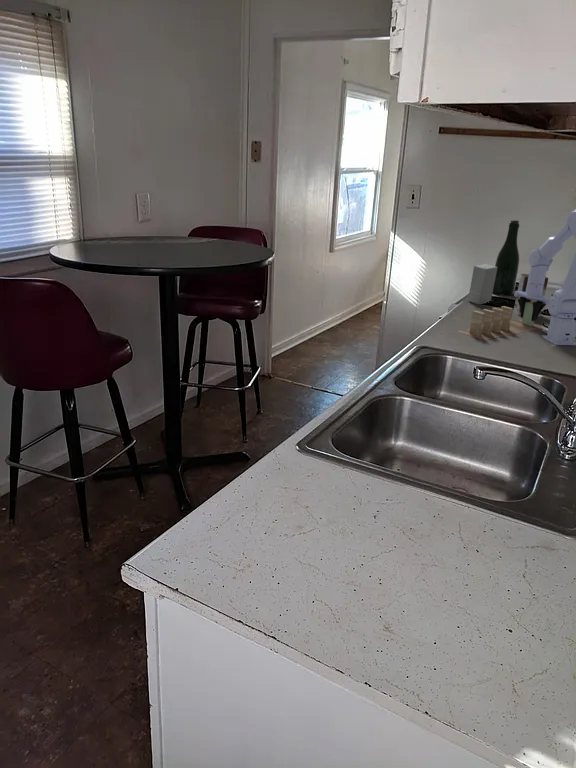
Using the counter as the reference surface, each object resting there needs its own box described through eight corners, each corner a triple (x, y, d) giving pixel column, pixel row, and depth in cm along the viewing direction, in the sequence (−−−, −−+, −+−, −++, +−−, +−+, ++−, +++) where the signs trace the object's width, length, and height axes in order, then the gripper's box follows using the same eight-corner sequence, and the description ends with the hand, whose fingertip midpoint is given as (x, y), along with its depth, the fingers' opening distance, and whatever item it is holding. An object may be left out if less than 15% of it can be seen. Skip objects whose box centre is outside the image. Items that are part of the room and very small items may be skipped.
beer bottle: (518, 295, 275) (532, 221, 263) (497, 295, 272) (511, 221, 260) (505, 290, 284) (518, 219, 272) (485, 290, 282) (498, 218, 270)
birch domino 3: (497, 332, 213) (501, 310, 210) (488, 329, 216) (492, 307, 213) (500, 331, 214) (504, 310, 211) (491, 329, 217) (494, 307, 214)
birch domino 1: (478, 336, 208) (482, 313, 205) (469, 333, 211) (472, 311, 208) (481, 335, 208) (485, 313, 205) (472, 332, 211) (475, 310, 209)
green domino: (530, 325, 224) (535, 304, 221) (521, 323, 227) (525, 302, 224) (533, 325, 225) (537, 304, 222) (524, 322, 228) (528, 302, 225)
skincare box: (478, 299, 264) (484, 263, 258) (492, 303, 259) (498, 266, 253) (466, 301, 259) (472, 264, 254) (480, 305, 254) (486, 267, 248)
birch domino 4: (506, 330, 216) (510, 309, 213) (497, 327, 219) (501, 306, 216) (509, 330, 217) (513, 308, 214) (500, 327, 220) (504, 305, 217)
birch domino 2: (488, 334, 210) (491, 312, 207) (478, 331, 213) (482, 309, 210) (490, 333, 211) (494, 311, 208) (481, 330, 214) (485, 308, 211)
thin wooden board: (483, 341, 203) (483, 340, 203) (455, 332, 213) (455, 331, 212) (547, 328, 223) (547, 327, 223) (519, 320, 233) (519, 319, 232)
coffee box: (516, 316, 238) (524, 276, 232) (512, 312, 244) (520, 273, 238) (540, 318, 238) (548, 278, 232) (535, 314, 244) (543, 275, 238)
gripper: (559, 286, 217) (552, 322, 222) (525, 278, 228) (518, 313, 233) (548, 288, 213) (540, 324, 218) (513, 280, 224) (507, 315, 229)
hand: (528, 319), depth 225 cm, fingers closed on green domino, 4 cm apart
